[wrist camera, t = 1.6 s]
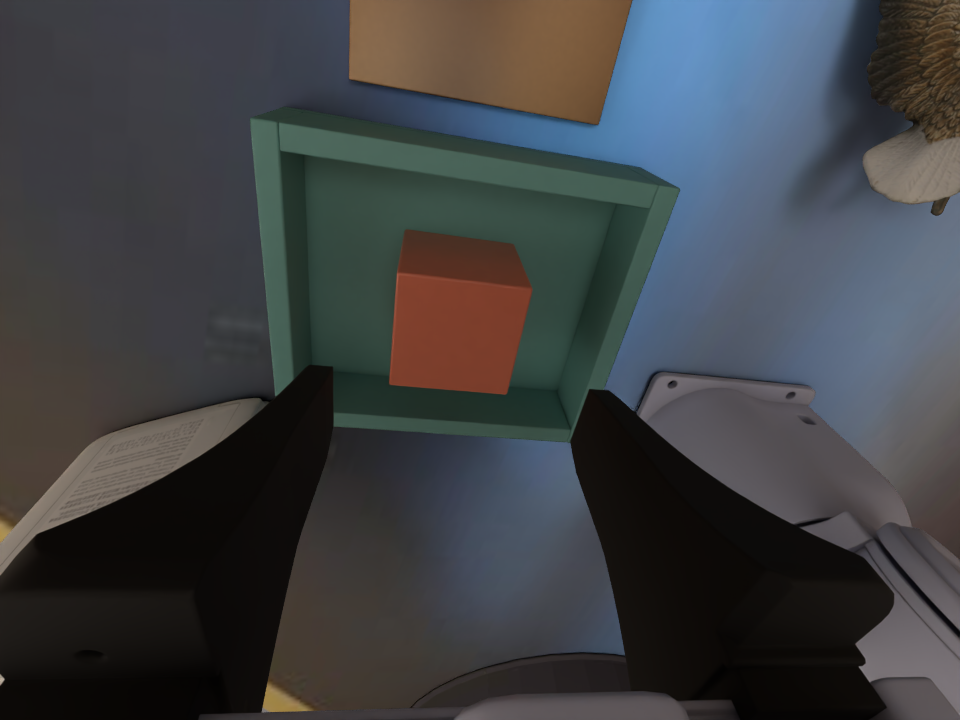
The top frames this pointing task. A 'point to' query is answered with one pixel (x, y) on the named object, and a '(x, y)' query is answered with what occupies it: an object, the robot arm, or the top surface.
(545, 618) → the top surface
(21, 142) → the top surface
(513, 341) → the block
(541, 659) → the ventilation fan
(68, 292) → the top surface
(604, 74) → the coaster
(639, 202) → the bin
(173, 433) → the white rounded flat block
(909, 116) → the eagle figurine
